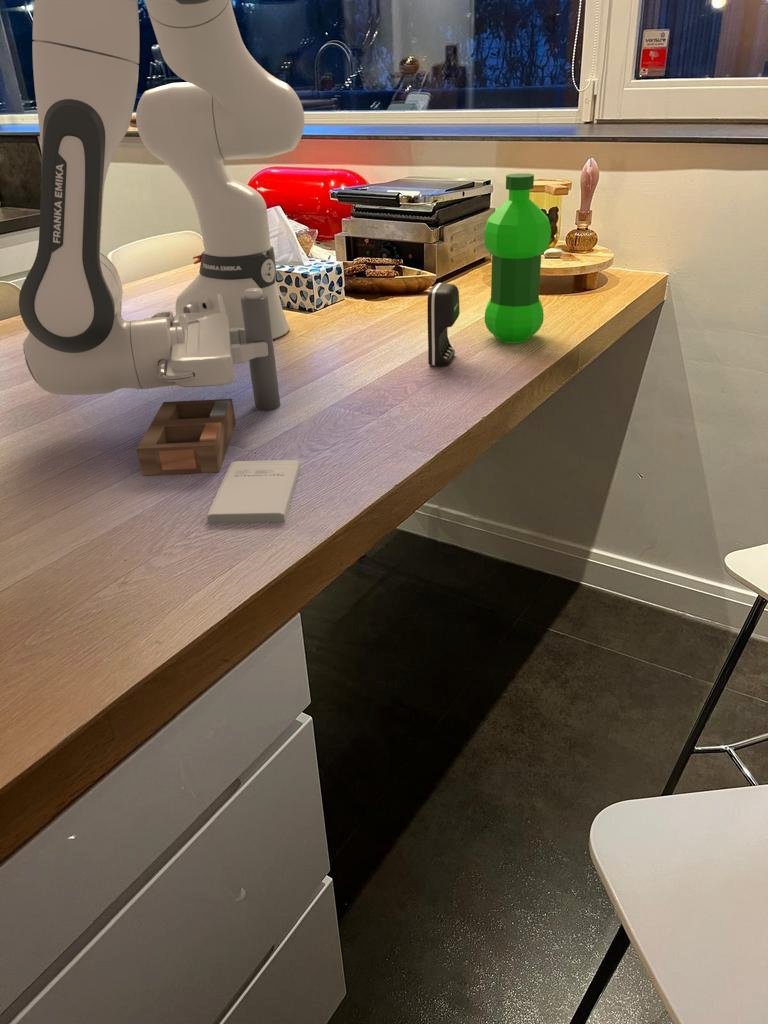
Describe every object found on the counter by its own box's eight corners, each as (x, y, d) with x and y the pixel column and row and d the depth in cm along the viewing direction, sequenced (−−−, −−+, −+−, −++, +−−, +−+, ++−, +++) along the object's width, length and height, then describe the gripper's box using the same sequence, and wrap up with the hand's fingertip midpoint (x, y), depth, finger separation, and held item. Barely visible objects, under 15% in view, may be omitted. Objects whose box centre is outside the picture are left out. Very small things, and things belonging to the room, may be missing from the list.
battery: (452, 368, 118) (452, 293, 112) (427, 367, 119) (426, 292, 113) (460, 353, 124) (461, 280, 118) (437, 352, 125) (436, 280, 119)
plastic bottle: (506, 352, 123) (513, 182, 111) (470, 335, 131) (472, 175, 119) (557, 340, 127) (569, 175, 114) (518, 324, 135) (526, 168, 123)
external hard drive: (208, 527, 82) (232, 472, 93) (285, 526, 81) (300, 470, 92) (206, 514, 81) (230, 460, 92) (284, 512, 81) (299, 458, 91)
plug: (250, 408, 108) (233, 292, 100) (264, 399, 111) (250, 285, 102) (270, 412, 106) (255, 294, 98) (285, 403, 109) (272, 287, 101)
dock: (218, 472, 91) (213, 443, 89) (142, 476, 91) (135, 447, 89) (236, 422, 104) (232, 395, 102) (168, 425, 104) (163, 399, 102)
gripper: (151, 355, 92) (269, 342, 94) (159, 308, 109) (258, 298, 111) (161, 405, 95) (275, 392, 97) (167, 351, 112) (264, 341, 114)
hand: (266, 341), depth 104 cm, fingers closed on plug, 3 cm apart
